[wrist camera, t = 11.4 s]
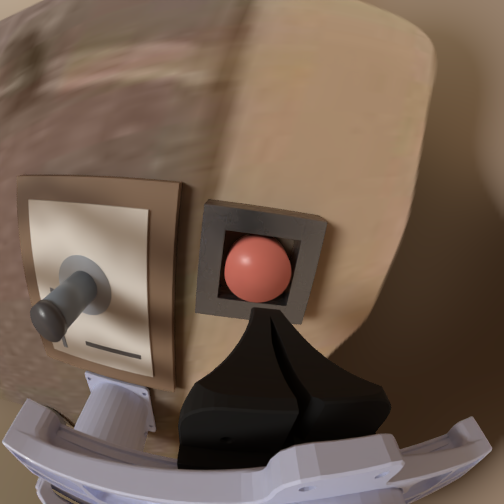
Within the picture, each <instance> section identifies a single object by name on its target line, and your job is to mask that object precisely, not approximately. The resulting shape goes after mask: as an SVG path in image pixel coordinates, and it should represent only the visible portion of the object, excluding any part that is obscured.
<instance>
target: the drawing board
mask: <svg viewBox="0 0 504 504" xmlns="http://www.w3.org/2000/svg"><path fill="white" fill-rule="evenodd" d="M181 190H182V182H177V181H167V180H155V179H143V178H128V177H111V176H89V175H21V176H17V214H18V228H19V238H20V246H21V254H22V260H23V267H24V272H25V278H26V283H27V287H28V292H29V296H30V300H31V305H32V307H33V306H34V305H35V304H36V303H37V302H38V301H40V300H43V299H44V298H45V297H46V296H47V295H48V294H49V293H51V292H52V291H53V290H54V289H55V288H56V287H57V286H59V285H60V284H61V283H62V282H63V281H65V280H66V279H67V278H68V277H69V276H71V275H72V274H73V273H74V272H76V271H84V272H86V273H88V274H89V275H90V276H91V277H92V278H93V279H94V281H95V283H96V286H97V295H96V297H95V298H94V299H93V301H92V302H91V303H90V304H89V305H88V306H87V307H86V308H85V310H84V311H83V312H82V313H81V314H80V315H79V316H78V318H77V319H76V320H75V321H74V322H73V323H72V325H71V326H70V327H69V328H68V329H67V332H66V334H65V335H64V336H63V338H62V339H61V340H60V341H59V342H51V341H48V340H47V339H45V338H44V337H43V336H42V335H40V336H41V339H42V342H43V345H44V348H45V351H46V353H47V356H49V357H52V358H54V359H57V360H59V361H62V362H65V363H67V364H70V365H73V366H76V367H78V368H81V369H84V370H87V371H91V372H94V373H97V374H100V375H103V376H107V377H110V378H114V379H118V380H121V381H125V382H129V383H133V384H137V385H141V386H146V387H150V388H155V389H160V390H165V391H170V392H174V391H175V387H176V378H175V339H174V313H175V273H176V252H177V236H178V223H179V211H180V200H181Z"/></svg>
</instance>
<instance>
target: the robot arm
mask: <svg viewBox="0 0 504 504" xmlns="http://www.w3.org/2000/svg"><path fill="white" fill-rule="evenodd" d="M85 376H86V379H87V382H88V385H89V388H90V390H91V394H90V396H89V398H88V400H87V402H86V404H85V406H84V408H83V410H82V412H81V414H80V416H79V418H78V420H77V422H76V425H75V427H74V429H72V428H70V427H68V426H66V425H63V424H61V423H60V420H59V418H58V416H57V415H56V414H55V413H54V412H53V411H52V410H50V409H49V408H47V407H45V406H43V405H41V404H39V403H37V402H35V401H33V400H31V399H27V400H26V402H25V403H24V405H23V406H22V408H21V410H20V411H19V413H18V414H17V416H16V418H15V419H14V421H13V423H12V425H11V426H10V428H9V430H8V432H7V433H6V435H5V437H4V439H3V441H2V442H3V444H4V445H5V446H6V448H7V449H8V450H9V451H10V452H11V453H12V454H13V455H14V456H15V457H16V458H17V459H18V460H19V461H20V462H21V463H22V464H23V465H24V466H25V467H27V469H29V470H30V471H31V472H32V473H33V474H35V475H37V476H38V477H39V478H38V481H37V483H36V489H37V495H38V497H39V499H40V500H41V502H42V503H43V504H73V503H71V502H69V501H67V500H65V499H64V498H62V497H60V496H59V495H57V494H56V493H55V492H54V491H53V490H52V489H54V490H56V491H58V492H59V493H61V494H63V495H65V496H66V497H68V498H70V499H72V500H74V501H76V502H78V503H80V504H410V503H412V502H414V501H416V500H418V499H420V498H423V497H425V496H426V495H428V494H431V493H433V492H434V491H436V490H438V489H440V488H442V487H444V486H446V485H447V484H449V483H451V482H453V481H455V480H456V479H458V478H460V477H461V476H463V475H464V474H465V473H466V472H468V471H469V470H470V469H471V468H472V467H473V466H475V465H476V464H477V463H478V462H479V461H481V460H482V459H483V458H484V457H485V456H486V455H487V454H488V453H489V452H490V451H491V450H492V447H491V446H490V444H489V442H488V440H487V439H486V437H485V436H484V434H483V432H482V431H481V429H480V427H479V426H478V424H477V423H476V421H475V420H474V418H473V417H469V418H467V419H465V420H462V421H460V422H458V423H457V424H455V425H454V426H453V427H452V428H451V429H450V431H449V432H448V433H447V434H445V435H442V436H440V437H437V438H434V439H432V440H429V441H426V442H423V443H420V444H417V445H413V446H410V447H407V448H403V449H399V447H398V444H397V442H396V440H395V438H394V437H393V435H392V434H376V433H375V432H376V431H377V430H378V428H379V427H380V426H381V425H382V423H383V422H384V421H385V419H386V418H387V416H388V415H389V413H390V410H391V404H390V402H389V400H388V398H387V396H386V394H385V392H384V390H383V388H382V387H381V386H379V385H376V384H374V383H371V382H369V381H366V380H364V379H361V378H359V377H357V376H355V375H353V374H351V373H349V372H347V371H346V370H344V369H342V368H340V367H339V366H337V365H336V364H334V363H332V362H331V361H330V360H328V359H327V358H326V357H324V356H323V355H322V354H321V353H319V352H318V351H317V350H316V349H315V348H314V347H312V346H311V345H310V344H309V343H308V342H307V341H306V340H305V339H304V338H303V337H302V336H301V334H300V333H299V332H298V331H297V330H296V329H295V328H294V326H293V325H292V324H291V323H290V322H289V320H288V319H287V318H286V317H285V315H284V314H283V313H282V312H281V310H277V309H267V308H258V307H253V308H252V309H251V312H250V318H249V323H248V326H247V328H246V330H245V332H244V334H243V336H242V338H241V339H240V341H239V343H238V344H237V345H236V347H235V348H234V350H233V351H232V352H231V353H230V354H229V356H228V357H227V358H226V359H225V360H224V361H223V362H222V363H221V364H220V365H219V366H218V367H216V368H215V369H214V370H213V371H212V372H211V373H209V374H208V375H206V376H205V377H203V378H202V379H200V380H199V381H197V382H196V383H195V384H194V386H193V387H192V389H191V391H190V392H189V394H188V396H187V397H186V399H185V401H184V404H183V406H182V409H181V412H180V418H179V424H178V429H179V440H180V446H179V452H178V459H174V458H168V457H163V456H159V455H154V454H150V453H146V452H143V449H144V445H145V441H146V438H147V434H148V431H151V432H155V431H156V425H155V420H154V415H153V410H152V404H151V399H150V392H149V389H148V388H147V387H144V386H140V385H136V384H132V383H128V382H124V381H120V380H116V379H113V378H109V377H106V376H103V375H99V374H96V373H93V372H90V371H86V372H85Z"/></svg>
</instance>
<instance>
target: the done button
mask: <svg viewBox="0 0 504 504" xmlns="http://www.w3.org/2000/svg"><path fill="white" fill-rule="evenodd" d="M290 278H291V265H290V262H289V259H288V257H287V254H286V252H285V250H284V248H283V246H282V245H281V243H280V242H279V241H278V240H276V239H275V238H274V237H272V236H266V235H258V234H247V235H245V236H242V237H241V238H239V239H238V240H236V241H235V242H234V243H233V244H232V246H231V247H230V249H229V251H228V254H227V259H226V265H225V280H226V283H227V285H228V287H229V289H230V290H231V291H232V292H233V293H234V294H235V295H236V296H237V297H239V298H241V299H243V300H245V301H249V302H256V303H259V302H266V301H269V300H272V299H274V298H276V297H277V296H279V295H280V294H281V293H282V292H283V291H284V290H285V289H286V287H287V286H288V284H289V281H290Z"/></svg>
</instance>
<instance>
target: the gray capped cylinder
mask: <svg viewBox="0 0 504 504" xmlns="http://www.w3.org/2000/svg"><path fill="white" fill-rule="evenodd" d="M96 295H97V286H96V283H95V281H94V279H93V278H92V277H91V276H90V275H89V274H88V273H86V272H84V271H76V272H74V273H73V274H72V275H71V276H69V277H68V278H67V279H66V280H65V281H63V282H62V283H61V284H60V285H59V286H57V287H56V288H55V289H54V290H53V291H52V292H51V293H49V294H48V295H47V296H46V297H45V298H44V299H43V300H40V301H38V302H37V303H36V304H35V305H34V306H33V307H32V308H31V311H30V316H31V320H32V323H33V325H34V327H35V328H36V330H37V331H38V332H39V333H40V335H42V336H43V337H44V338H45V339H47V340H48V341H51V342H59V341H60V340H61V339H62V338H63V336H64V335H65V334H66V332H67V329H68V328H69V327H70V326H71V325H72V323H73V322H74V321H75V320H76V319H77V318H78V316H79V315H80V314H81V313H82V312H83V311H84V310H85V308H86V307H87V306H88V305H89V304H90V303H91V302H92V301H93V299H94V298H95V297H96Z"/></svg>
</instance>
